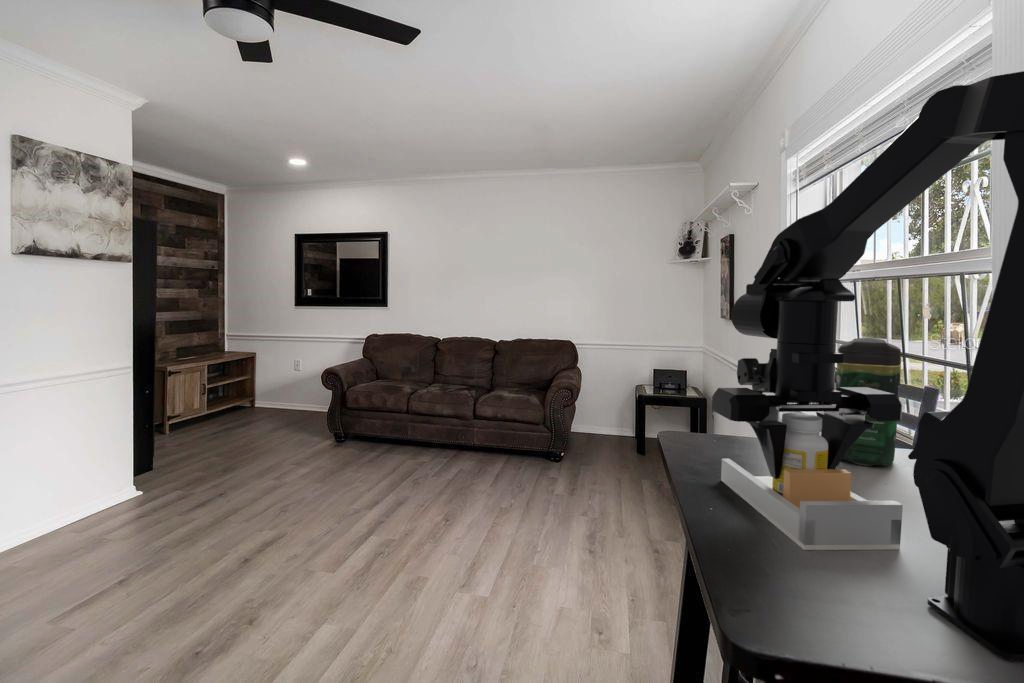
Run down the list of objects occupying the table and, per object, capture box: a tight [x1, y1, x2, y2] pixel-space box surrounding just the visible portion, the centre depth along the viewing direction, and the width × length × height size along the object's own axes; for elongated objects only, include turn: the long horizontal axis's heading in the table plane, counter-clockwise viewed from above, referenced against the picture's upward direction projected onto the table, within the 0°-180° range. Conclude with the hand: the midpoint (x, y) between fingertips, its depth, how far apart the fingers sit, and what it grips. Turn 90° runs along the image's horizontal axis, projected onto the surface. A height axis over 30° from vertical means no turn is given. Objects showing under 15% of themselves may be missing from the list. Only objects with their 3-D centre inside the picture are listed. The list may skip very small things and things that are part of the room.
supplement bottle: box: [772, 412, 828, 497], centre depth 57 cm, size 5×5×10 cm
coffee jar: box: [835, 337, 902, 467], centre depth 76 cm, size 10×8×19 cm
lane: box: [720, 458, 904, 551], centre depth 58 cm, size 19×9×4 cm, turn 0°
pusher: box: [783, 468, 853, 509], centre depth 54 cm, size 1×7×5 cm, turn 90°
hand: (799, 477), depth 57 cm, fingers closed on supplement bottle, 5 cm apart
